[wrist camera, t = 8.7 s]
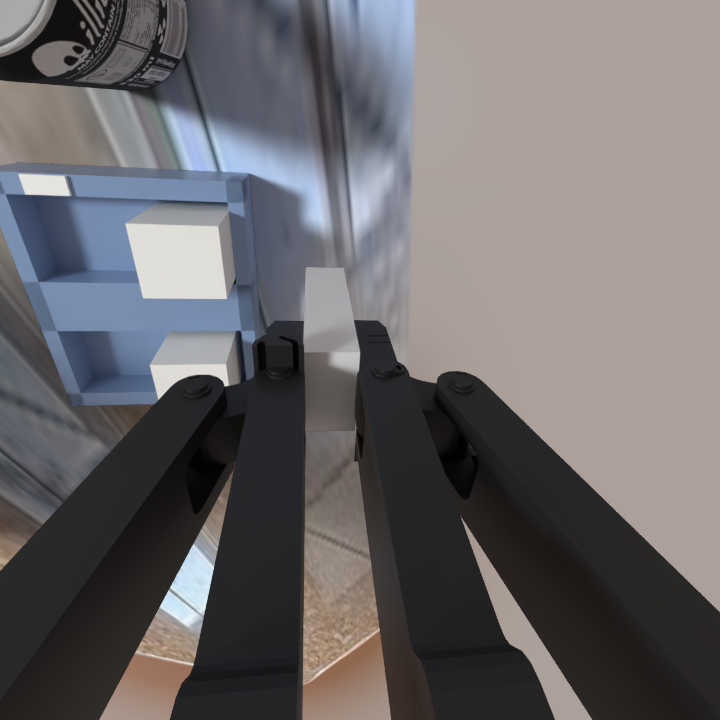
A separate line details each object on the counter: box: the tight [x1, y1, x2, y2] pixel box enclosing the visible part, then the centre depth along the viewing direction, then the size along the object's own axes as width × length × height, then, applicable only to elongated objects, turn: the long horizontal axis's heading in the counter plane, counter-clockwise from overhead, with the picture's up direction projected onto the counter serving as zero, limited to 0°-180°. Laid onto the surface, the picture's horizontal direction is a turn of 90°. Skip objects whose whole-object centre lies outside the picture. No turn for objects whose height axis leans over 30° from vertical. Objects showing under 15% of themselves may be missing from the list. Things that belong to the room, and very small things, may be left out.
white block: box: [150, 331, 243, 400], centre depth 25 cm, size 4×4×5 cm
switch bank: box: [0, 162, 262, 406], centre depth 25 cm, size 12×14×3 cm
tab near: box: [125, 201, 236, 299], centre depth 21 cm, size 4×4×5 cm
